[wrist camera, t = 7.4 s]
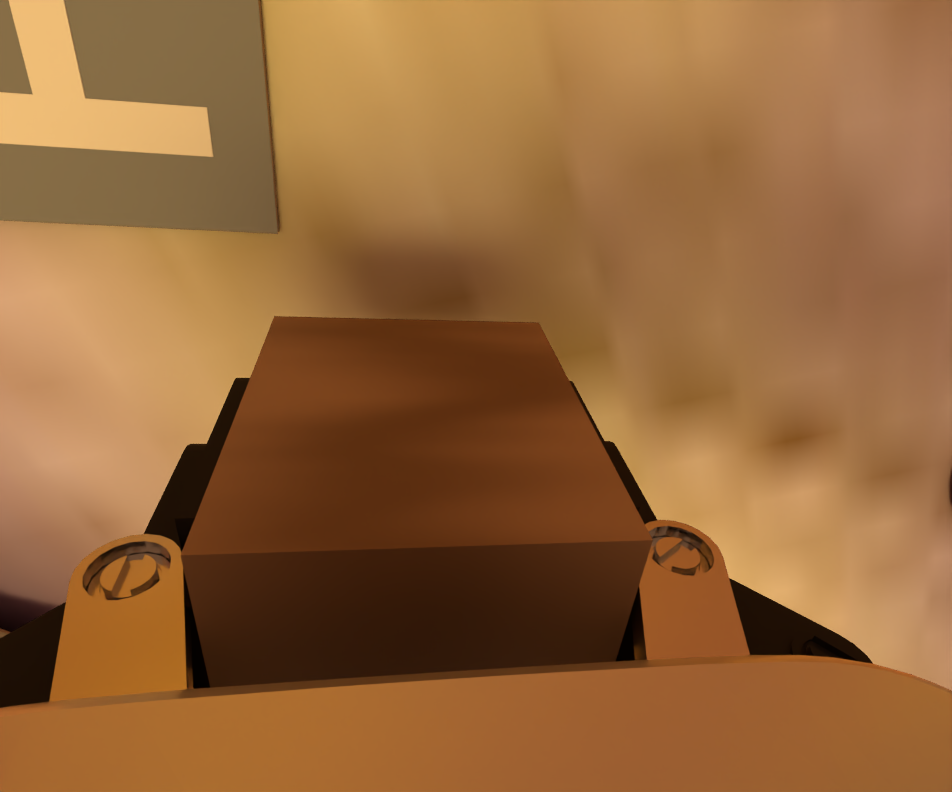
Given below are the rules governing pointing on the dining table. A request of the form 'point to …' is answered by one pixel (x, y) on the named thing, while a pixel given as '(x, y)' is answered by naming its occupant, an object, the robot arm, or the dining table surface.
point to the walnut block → (410, 510)
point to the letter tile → (136, 114)
